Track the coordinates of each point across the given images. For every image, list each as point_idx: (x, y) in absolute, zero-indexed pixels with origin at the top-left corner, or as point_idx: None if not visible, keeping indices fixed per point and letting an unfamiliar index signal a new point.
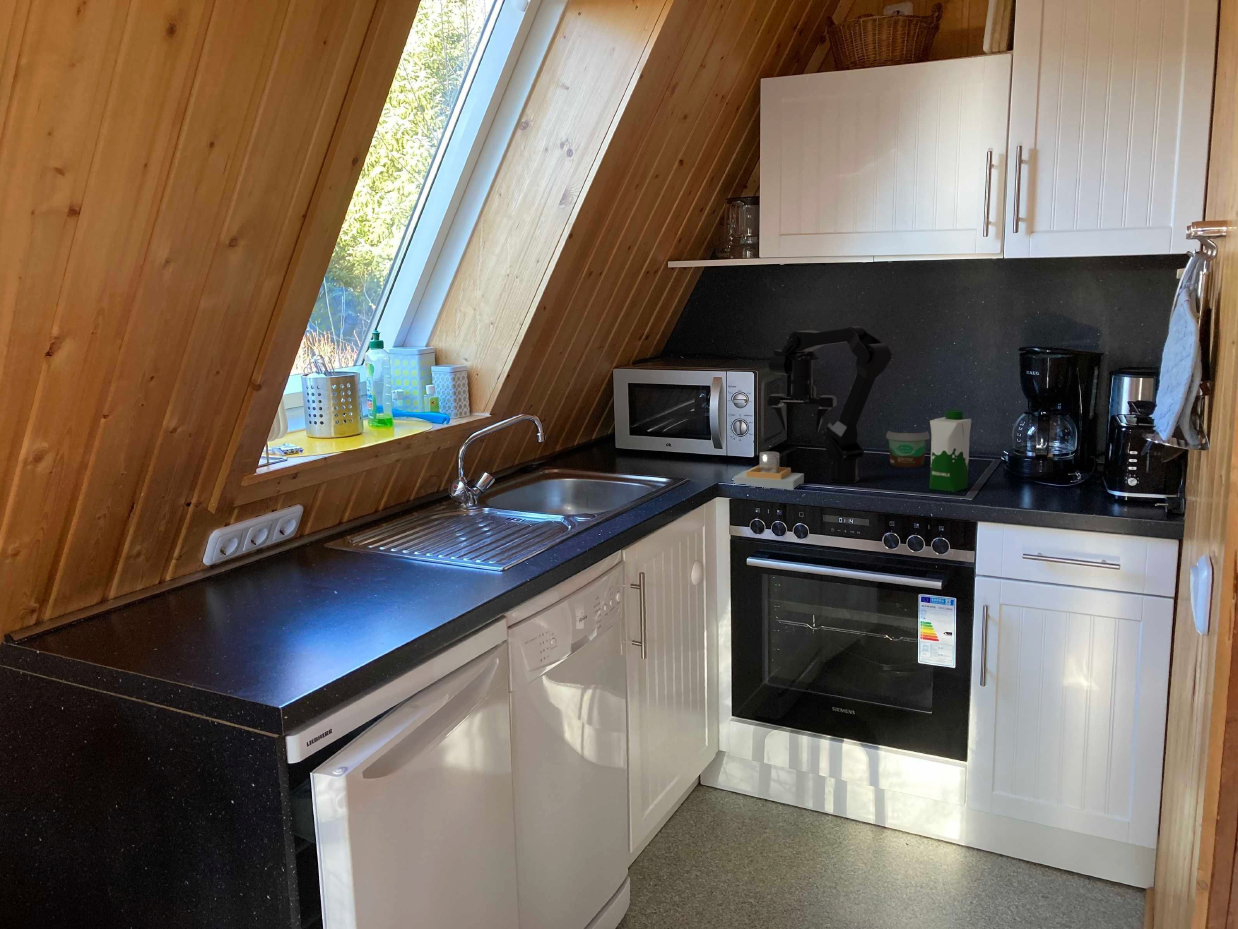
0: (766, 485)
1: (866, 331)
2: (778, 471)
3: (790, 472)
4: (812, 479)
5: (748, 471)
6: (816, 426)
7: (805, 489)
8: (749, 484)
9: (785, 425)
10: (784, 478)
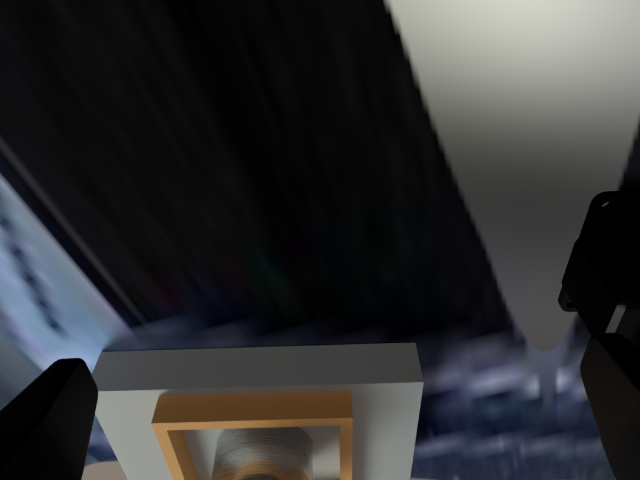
0: None
1: None
2: (312, 466)
3: (351, 397)
4: (446, 260)
5: None
6: (619, 473)
7: (448, 432)
8: None
9: (68, 467)
10: (358, 473)
